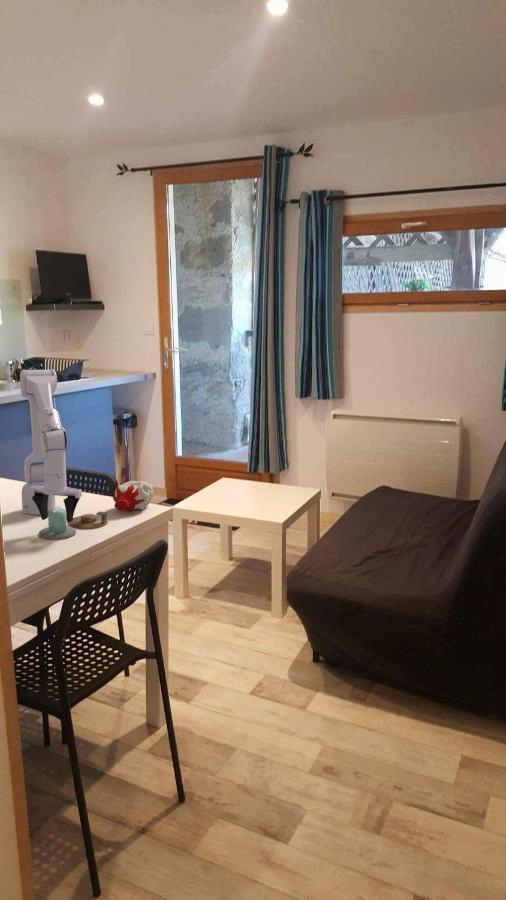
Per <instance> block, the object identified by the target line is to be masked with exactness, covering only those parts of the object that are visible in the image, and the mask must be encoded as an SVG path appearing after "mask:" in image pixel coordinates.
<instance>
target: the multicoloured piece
mask: <svg viewBox="0 0 506 900" xmlns="http://www.w3.org/2000/svg"><path fill="white" fill-rule="evenodd" d="M154 490H155V489H154V486H153V485H152V484H150V483H149V482H147V481H144V480H143V481H138V480H130V481H127V482H124V483H122V484H120V485H117V486H116V489H115V491H114V494H113V496H112V499H113V501H114V506H113V507H115V509H116V510H117V511H127V512H134V511H137V510H138V509H140V510H141V511H143V510H145V508H146V507H147V506H149V505H150V503H151V501H152V499H153V498H154V495H155V493H154Z"/></svg>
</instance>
